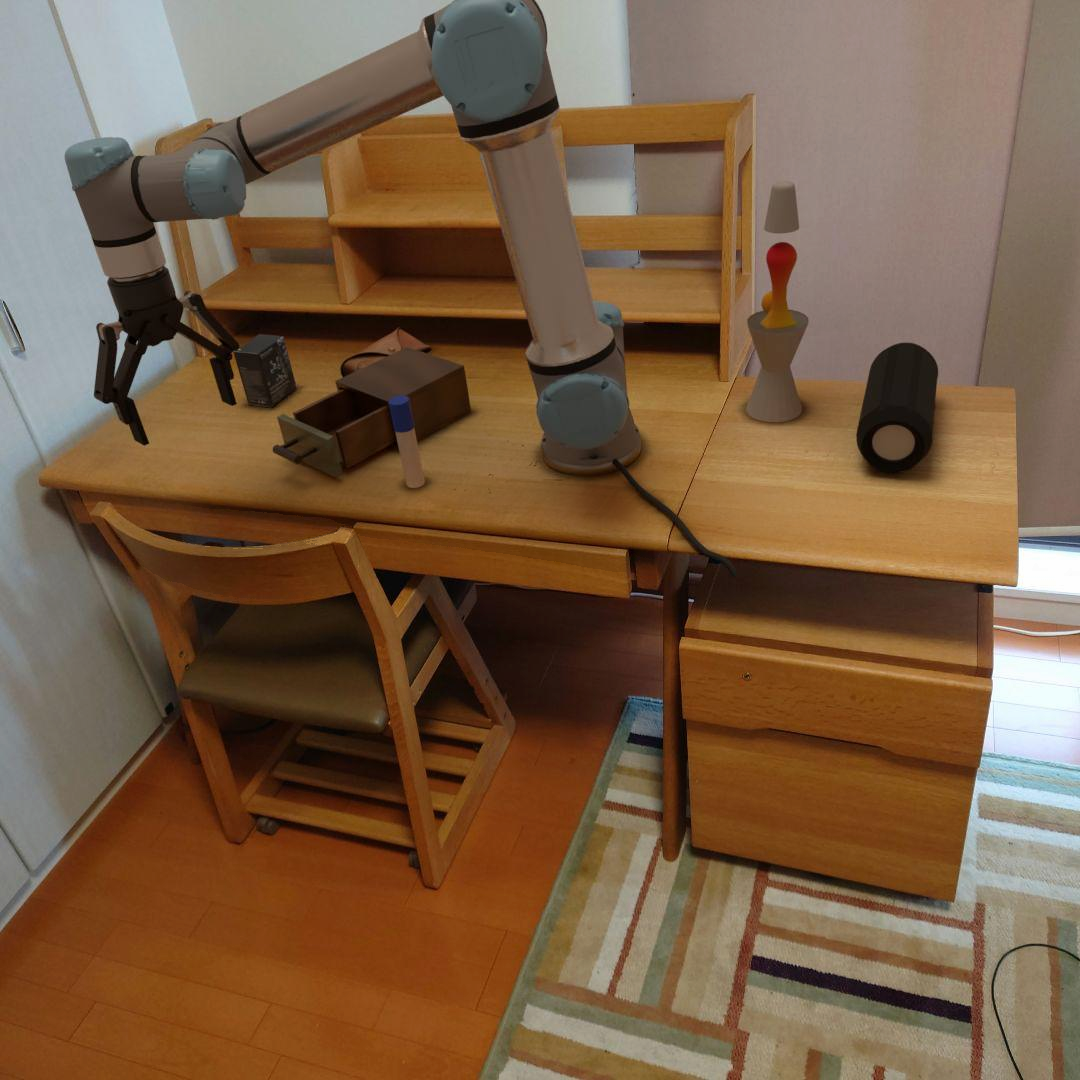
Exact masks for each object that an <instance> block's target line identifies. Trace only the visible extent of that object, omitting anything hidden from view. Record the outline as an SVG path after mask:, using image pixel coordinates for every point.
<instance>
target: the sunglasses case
mask: <svg viewBox="0 0 1080 1080" xmlns="http://www.w3.org/2000/svg"><path fill="white" fill-rule="evenodd" d="M406 347H408V348H411V349H414V350H417V351H421V352H424V353H426V352H427V351H428V350H429V349H431V348H432V345H428V344H426V343H424V342H423V341H421V340H419V339H418V338H416V337H414V336H413V335H411V334H410V333H408V332H406V331H404V330H403V329H402V328H401V327H400V326H399V327H397V328H396V329H395V330H394V331H393V332H391V333H389V334H387V335H385V336H384V337H381V338H380V339H378V340H377V341H375V342H373V343H372V344H370V345H369V346H367V347H365V348H364V349H362V350H360V351H359V352H358V353H355V354H353V355H350V356H349V357H347V358H345V360H343V362H342V363H341V365H340V369H339V370H340V374H341V378H343V377H345V376H347V375H349V374H351V373H354V372H356V371H358V370H360V369H362V368H364V367H366V366H368V365H370V364H372V363H375V362H377V361H379V360H381V359H383V358H385V357H387V356H389V355H391V354H393V353H395V352H398V351H400V350H402V349H404V348H406Z"/></svg>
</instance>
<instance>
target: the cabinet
mask: <svg viewBox="0 0 1080 1080" xmlns="http://www.w3.org/2000/svg"><path fill="white" fill-rule="evenodd" d="M334 382H335V385H336V391H339V390H341V389H343V388H344V389H347V390H349V391H352V392H355V393H357V394H360V395H362V396H365V397H367V398H370V399H373V400H375V401H378V402H380V403H383V404H385V405H388V406H389V403H388V401H389V400H390V399H391V398H392V397H395V396H400V395H404V396H407V397H409V400H410V405H411V410H412V415H413V420H414V429H415V434H416V439H417V443H419V442H420V441H422V440H424V439H426V438H427V437H429V436H431V435H433V434H434V433H436V432H438V431H441V430H442V429H444V428H445V427H447V426H449V425H451V424H452V423H454V422H457V421H458V420H460V419H462V418H463V417H466V416H468V414H471V413H472V407H471V402H470V396H469V395H470V394H469V388H468V383H467V376H466V370H465V365H463V364H460V363H457V362H454V361H451V360H448V359H445V358H441V357H438V356H435V355H433V354H429V353H427V352H421V351H417V350H414V349H411V348H408V347H406V348H404V349H402V350H400V351H398V352H395V353H393V354H391V355H389V356H387V357H385V358H383V359H381V360H379V361H377V362H375V363H372V364H370V365H368V366H366V367H364V368H362V369H360V370H358V371H356V372H354V373H351V374H349V375H347V376H345V377H341V378H339V379H337V380H335V381H334ZM395 435H396V433H395ZM396 440H397V437H396ZM388 447H391V448H394V449H395V450H398V451H399V447H398V442H397V441H396V442H394V443H393V444H391V445H389V446H388Z"/></svg>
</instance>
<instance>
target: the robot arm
mask: <svg viewBox="0 0 1080 1080" xmlns="http://www.w3.org/2000/svg"><path fill="white" fill-rule="evenodd" d="M547 27H548V26H547V22H546V19H545V16H544V13H543V11H542V9H541V7H540V5H539V4H538V2H537V1H536V0H452V1H451V2H450V3H449V4H447V5H446V6H444V7H442V8H440V9H439V10H437V11H435V12H433V13H431V14H429V15H427V16H425V17H423V18H422V19H421V23H420V24H419V29H418V30H417V31H415V32H414V33H411V34H409V35H407V36H405V37H402V38H401V39H399V40H396V41H394V42H392V43H390V44H388V45H386V46H383V47H381V48H379V49H377V50H375V51H372V52H370V53H369V54H367V55H365V56H362V57H360V58H358V59H356V60H354V61H352V62H350V63H347V64H345V65H344V66H341V67H339V68H337V69H335V70H333V71H331V72H329V73H326V74H325V75H322V76H321V77H318V78H316V79H314V80H312V81H310V82H308V83H305V84H304V85H301V86H300V87H297V88H295V89H293V90H291V91H289V92H286V93H284V94H283V95H280V96H278V97H276V98H274V99H271V100H270V101H267V102H266V103H263V104H261V105H259V106H256V107H255V108H253V109H251V110H249V111H246V112H244V113H243V114H241V115H239V116H235V117H234V118H232V119H230V120H227V121H221V122H219V123H216V124H214V125H213V126H211V127H209V128H207V129H205V131H204V132H203V133H202V134H201V135H200V136H198V137H197V138H196V139H194V140H192V141H191V142H189V143H188V144H186V145H185V146H183V147H182V148H181V149H178V150H177V151H176V152H171V153H162V154H151V155H140V154H139V155H135V154H134V153H133V150H132V149H131V147H130V144H129V142H128V141H127V139H125V138H124V137H123V138H122V137H119V136H115V137H113V136H107V137H98V138H92V139H87V140H83V141H80V142H77V143H75V144H72V145H70V146H69V147H68V148H66V150H65V152H64V163H65V165H66V169H67V172H68V175H69V179H70V183H71V189H72V192H74V194H75V196H76V199H77V201H78V204H79V207H80V210H81V212H82V215H83V218H84V220H85V224H86V226H87V228H88V231H89V234H90V237H91V240H92V243H93V247H94V249H95V252H96V255H97V258H98V260H99V264H100V266H101V269H102V272H103V274H104V276H106V277H108V279H107V280H106V284H107V286H108V290H109V292H110V295H111V298H112V300H113V303H114V306H115V308H116V311H117V314H118V319H117V321H114V322H110V323H103V322H98V323H97V324H96V326H95V329H96V333H97V337H98V338H97V339H98V349H97V350H98V352H97V360H96V361H97V362H96V369H95V378H94V379H95V380H94V389H93V397H94V399H96V400H97V401H99V402H100V403H102V404H105V405H109V404H113V407H114V410H115V412H116V415H117V417H118V420H119V421H120V422H121V423H122V424H124V425H126V426H129V429H130V433H131V434H132V437H133V439H134V440H133V441H135V442H137V443H138V444H140V445H142V446H144V447H145V446H147V445H150V441H149V438H148V436H147V434H146V431H145V427H144V425H143V422H142V419H141V416H140V413H139V411H138V408H137V406H136V403H135V401H134V399H133V398H131V397H129V393H130V390H131V388H132V385H133V382H134V379H135V377H136V374H137V371H138V369H139V366H140V363H141V360H142V358H143V356H144V355H145V354H146V353H147V350H148V347H156V346H158V345H160V344H161V343H163V342H167V341H171V340H174V339H175V336H176V335H177V334H178V335H180V336H182V337H184V338H185V339H186V340H188V341H190V342H192V343H193V344H195V345H196V346H199V347H200V348H201V349H203V350H205V351H206V352H208V353H210V354H211V355H213V356H215V357H211V358H209V364H210V366H211V370H212V373H213V377H214V380H215V383H216V386H217V389H218V393H219V396H220V399H221V402H223V403H224V404H227V405H229V406H231V407H234V406H236V405H237V404H238V403H237V400H236V396H235V393H234V389H233V386H232V384H231V380H234V379H235V374H234V371H233V367H232V363H231V361H232V359H233V356H234V355H233V351H236V350H238V349H239V347H240V343H239V342H238V341H237V340H236V339H235V338H234V337H233V335H231V333H230V332H229V331H228V330H227V329H226V328H225V327H224V325H223V324H222V323H220V321H219V320H218V319H217V318H216V317H215V316H214V315H213V314H212V312H211V311H209V309H208V308H207V307H206V305H205V302H204V299H203V298H202V295H201V294H199V293H197V292H194V291H191V290H186V291H185V292H184V293H183V296H181V297H180V298H178V297H177V294H176V290H175V286H174V282H173V280H172V276H171V273H170V269H169V268H168V267H166V266H165V264H166V263H167V261H166V257H165V254H164V251H163V248H162V245H161V241H160V238H159V235H158V232H157V229H156V226H155V223H162V222H163V223H164V222H180V221H193V220H194V221H195V220H213V221H214V220H218V219H220V218H226V217H232V216H233V217H234V216H236V215H239V214H241V212H242V211H243V210H244V208H245V205H246V204H245V201H246V199H247V185H249V184H250V183H253V182H255V181H257V180H259V179H261V178H264V177H267V176H268V175H270V174H272V173H273V172H276V171H277V170H280V169H282V168H284V167H287V166H289V165H291V164H293V163H296V162H298V161H300V160H302V159H305V158H307V157H310V156H311V155H314V154H316V153H318V152H320V151H322V150H326V149H327V148H329V147H331V146H334V145H337V144H339V143H341V142H343V141H345V140H347V139H350V138H353V137H354V136H356V135H358V134H361V133H363V132H365V131H367V130H369V129H372V128H374V127H377V126H378V125H381V124H383V123H386V122H388V121H390V120H393V119H395V118H397V117H399V116H402V115H403V114H406V113H408V112H410V111H412V110H415V109H417V108H419V107H422V106H424V105H426V104H428V103H431V102H433V101H435V100H437V99H440V98H442V97H444V98H445V100H446V101H447V102H448V103H449V105H450V106H451V109H452V114H453V117H454V119H455V120H454V121H455V123H456V125H457V129H458V132H459V136H460V138H461V140H462V141H464V142H465V143H467V144H469V145H470V146H472V147H473V148H475V149H476V150H477V151H478V153H479V157H480V161H481V163H482V167H483V170H484V174H485V178H486V181H487V185H488V189H489V190H490V191H489V192H490V195H491V198H492V202H493V206H494V208H495V212H496V215H497V219H498V222H499V223H498V224H499V226H500V230H501V233H502V237H503V241H504V242H505V243H504V244H505V246H506V250H507V254H508V258H509V260H510V265H511V267H512V270H513V271H512V272H513V274H514V275H513V276H514V278H515V282H516V285H517V289H518V292H519V295H520V298H521V302H522V305H523V309H524V313H525V315H526V320H527V323H528V326H529V330H530V333H531V337H532V340H531V341H530V343H529V344H528V346H527V348H526V349H525V358H526V362H527V365H528V369H529V372H530V376H531V378H532V383H533V385H534V389H535V393H536V397H537V402H536V405H535V408H536V409H535V412H536V417H537V420H538V424H539V426H540V428H541V430H542V431H543V434H542V437H541V441H540V447H541V448H540V449H541V457H542V460H543V461H544V463H545V464H546V465H547V466H549V468H551V469H553V470H555V471H557V472H560V473H564V474H567V475H572V476H598V475H604V474H609V473H612V472H615V471H619V472H620V474H621V475H622V476H623V477H624V478H625V480H626V481H627V482H628V484H630V486H631V487H632V488H633V489H634V490H635V491H636V492H637V493H638V494H640V495H641V496H642V497H643V498H644V499H646V500H647V501H648V502H650V503H651V504H652V505H654V506H655V507H656V508H658V509H659V510H660V511H661V512H663V513H664V514H665V515H666V516H668V517H669V519H671V521H672V522H673V523H674V524H675V525H676V526H677V528H679V530H680V532H682V534H683V535H684V536H685V538H686V539H687V541H689V543H690V544H691V545H692V546H693V547H694V548H695V549H696V550H697V551H698V552H699V553H700V554H702V555H703V556H705V557H706V558H709V559H711V560H713V561H716V562H719V563H721V564H722V565H723V566H725V568H726V569H727V570H728V572H729V574H730V576H731V577H732V578H733V579H739V578H740V577H741V576H740V573H739V571H738V569H737V568H736V566H735V565H734V563H732V561H731V560H729V559H728V558H727V557H726V556H724V555H722V554H720V553H717V552H714V551H711V550H710V549H708V548H706V546H705V545H703V544H702V543H701V542H700V541H699V540H698V539H697V538H696V537H695V536H694V534H693V533H692V532H691V530H690V529H689V527H687V525H686V524H685V523H684V521H683V520H682V519H681V518H680V517H679V516H678V515H677V514H676V513H675V512H674V511H673V510H672V509H671V508H669V507H668V506H667V505H665V503H663V502H662V501H660V500H659V499H658V498H656V497H654V496H653V495H652V494H651V493H649V491H647V490H646V489H645V488H643V486H642V485H640V484H639V483H638V482H637V480H636V479H635V478H634V477H633V475H632V474H631V473H630V472H629V471H628V470H627V468H626V467H627V466H629V465H630V464H632V463H633V462H634V461H636V459H638V457H639V455H640V454H641V452H642V436H641V433H640V430H639V428H638V426H637V425H636V424H635V420H634V417H633V414H632V411H631V409H630V399H629V397H628V386H627V385H628V384H627V383H628V382H627V372H626V359H625V344H624V343H625V341H624V327H625V323H624V322H623V313H622V311H621V308H620V307H619V306H617V305H615V304H614V303H611V302H607V301H598V300H594V299H593V293H592V290H591V286H590V282H589V278H588V274H587V269H586V266H585V261H584V257H583V253H582V249H581V246H580V245H581V244H580V242H579V237H578V233H577V230H576V225H575V221H574V216H573V213H572V209H571V205H570V200H569V197H568V192H567V189H566V184H565V180H564V176H563V172H562V168H561V165H560V160H559V156H558V151H557V147H556V144H555V140H554V136H553V135H554V134H553V132H552V126H553V123H554V121H555V119H556V118H557V115H558V114H559V112H560V110H561V107H560V103H559V99H558V93H557V91H556V86H555V82H554V78H553V73H552V69H551V64H550V60H549V56H548V53H547V52H548V51H547V48H548V28H547ZM184 309H185V310H186V311H189V312H191V313H192V314H193V315H194V316H195V317H196V319H198V320H199V321H200V322H201V324H202V325H203V326H204V327H205V328H206V329H207V330H208V331H209V332H210V334H211V335H213V337H215V338H216V340H217V341H218V342H219V343H220V345H218V344H217V343H215V342H214V341H211V340H210V339H208V338H206V337H205V336H203V335H202V334H200V333H199V332H198V331H196V330H194V329H193V328H191V327H190V326H188V325H186V324H185V323H183V322H182V316H183V313H184ZM122 332H124V333H125V334H127V336H126V339H125V341H124V345H123V346H124V350H123V353H122V355H121V357H120V361H119V364H118V366H117V369H116V364H117V356H118V341H119V340H120V339H121V335H120V334H121V333H122Z"/></svg>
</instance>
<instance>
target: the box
mask: <svg viewBox="0 0 1080 1080" xmlns="http://www.w3.org/2000/svg"><path fill="white" fill-rule="evenodd" d="M232 354H233V356H234V359H235V363H236V366H237V367H236V368H237V370H238V374H239V377H240V380H241V384H242V387H243V391H244V394H245V397H246V401H247V403H248V405H250V406H251V405H252V406H257V407H264V408H270V409H271V408H273V407H275V406H276V404H278V403H280V402H281V401H282V400H283V399H285V398H286V397H287V396H289V395H290V394H292V393H293V392H295V391H296V390H297V389H298V388H297V384H296V380H295V375H294V371H293V368H292V365H291V360H290V356H289V353H288V349H287V345H286V340H285V337H284V336H282V335H274V334H263V333H259V334H257V335H256V336H254V337H253V338H251V339H250V340H248V341H247V342H246V343H244V344H242V345H241V346H239V349H238V350H236V351H233V352H232Z"/></svg>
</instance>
